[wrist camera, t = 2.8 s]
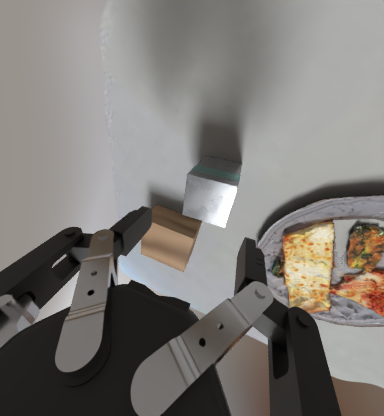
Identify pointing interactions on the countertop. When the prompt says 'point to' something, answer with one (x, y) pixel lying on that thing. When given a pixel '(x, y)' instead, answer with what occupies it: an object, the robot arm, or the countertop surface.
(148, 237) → the tan block
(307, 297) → the food plate
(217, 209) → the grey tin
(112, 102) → the countertop surface
